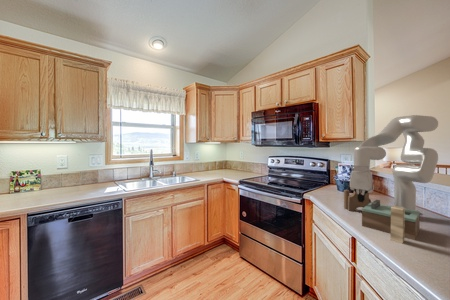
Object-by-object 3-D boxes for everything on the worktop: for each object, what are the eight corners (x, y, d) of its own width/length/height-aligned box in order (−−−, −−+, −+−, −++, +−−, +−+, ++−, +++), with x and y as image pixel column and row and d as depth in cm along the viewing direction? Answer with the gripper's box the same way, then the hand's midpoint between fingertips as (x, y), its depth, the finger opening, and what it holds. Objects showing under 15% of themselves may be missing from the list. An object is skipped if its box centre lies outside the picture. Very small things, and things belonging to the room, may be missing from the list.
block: (392, 239, 89) (393, 205, 89) (404, 243, 86) (404, 207, 86) (390, 242, 87) (390, 207, 86) (402, 246, 84) (402, 209, 83)
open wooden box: (370, 220, 112) (370, 205, 112) (419, 232, 96) (419, 214, 96) (361, 228, 102) (362, 211, 101) (414, 242, 86) (415, 223, 86)
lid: (371, 204, 112) (371, 197, 111) (419, 213, 96) (420, 205, 96) (362, 210, 101) (362, 202, 101) (415, 222, 86) (415, 213, 86)
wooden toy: (369, 209, 130) (369, 172, 129) (373, 213, 123) (374, 174, 123) (343, 207, 134) (343, 172, 134) (346, 210, 128) (346, 173, 127)
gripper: (344, 168, 111) (343, 199, 112) (376, 170, 100) (375, 206, 100) (348, 167, 116) (348, 197, 116) (380, 169, 104) (379, 203, 105)
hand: (360, 201), depth 108 cm, fingers closed
